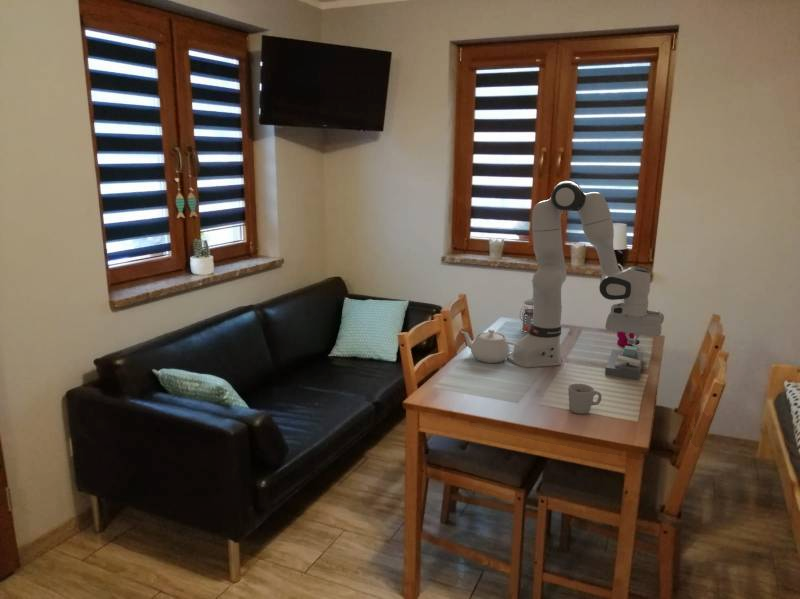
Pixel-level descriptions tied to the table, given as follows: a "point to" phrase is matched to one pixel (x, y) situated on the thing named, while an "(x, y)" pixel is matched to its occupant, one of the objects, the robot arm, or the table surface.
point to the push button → (630, 350)
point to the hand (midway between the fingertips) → (631, 343)
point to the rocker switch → (628, 360)
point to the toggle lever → (636, 343)
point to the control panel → (623, 366)
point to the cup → (582, 398)
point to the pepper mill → (624, 338)
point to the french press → (527, 312)
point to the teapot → (490, 347)
